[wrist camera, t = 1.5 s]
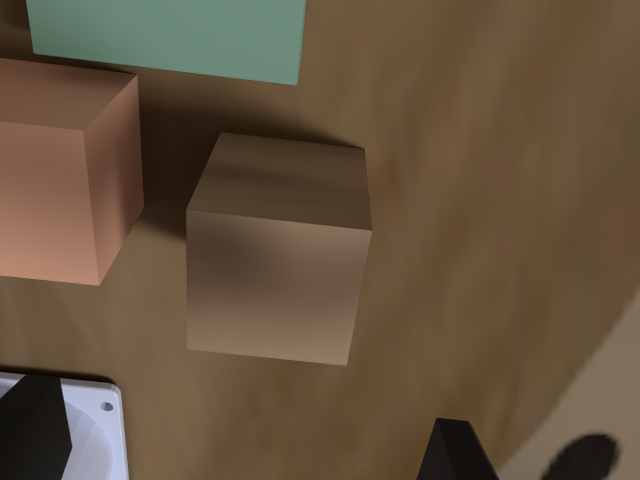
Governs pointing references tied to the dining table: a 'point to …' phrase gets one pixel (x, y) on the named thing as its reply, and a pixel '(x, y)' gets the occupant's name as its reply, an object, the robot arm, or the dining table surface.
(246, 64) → the base plate
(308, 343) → the walnut brick
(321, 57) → the dining table surface
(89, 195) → the terracotta brick
